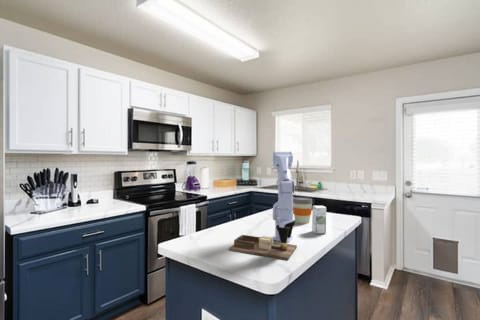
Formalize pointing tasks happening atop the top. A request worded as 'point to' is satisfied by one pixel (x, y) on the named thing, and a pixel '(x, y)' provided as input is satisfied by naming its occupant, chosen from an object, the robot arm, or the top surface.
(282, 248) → the cream block with stem
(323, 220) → the syrup box
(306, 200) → the reusable coffee cup
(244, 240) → the walnut lane shelf
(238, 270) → the top surface
